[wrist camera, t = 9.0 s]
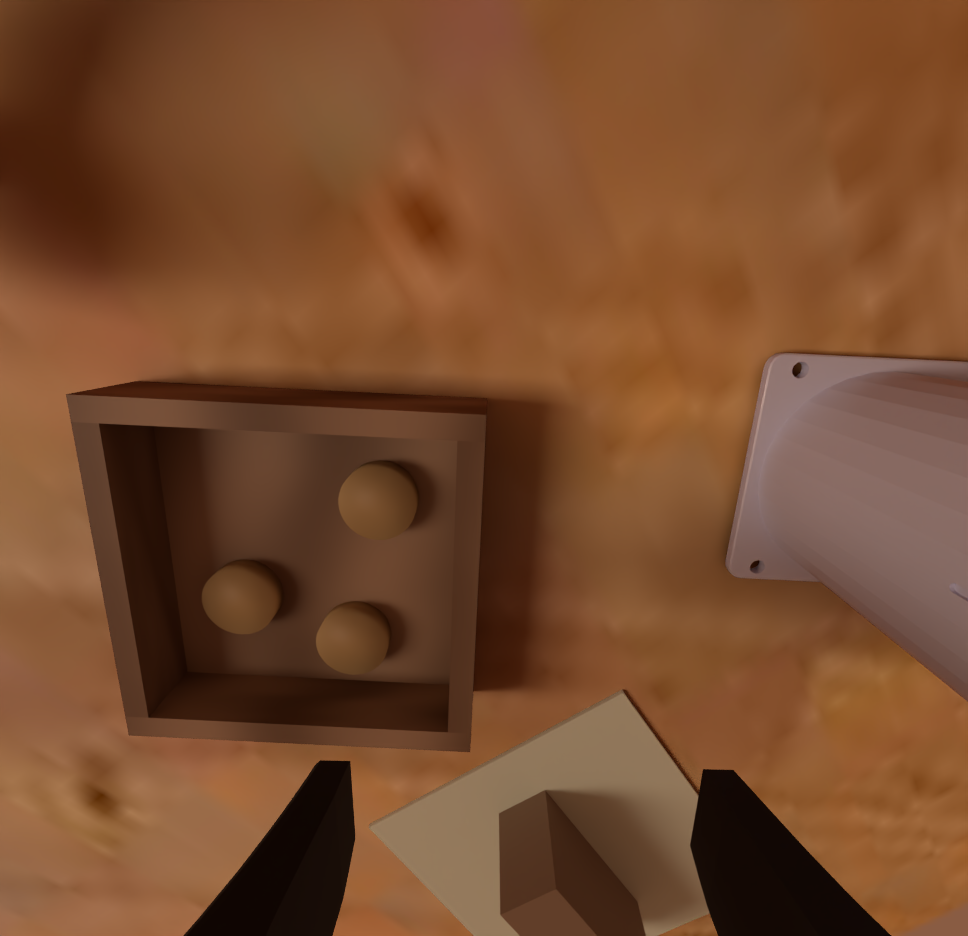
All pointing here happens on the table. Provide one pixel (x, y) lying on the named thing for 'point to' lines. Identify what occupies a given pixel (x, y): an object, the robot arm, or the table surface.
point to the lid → (561, 834)
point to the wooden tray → (287, 560)
